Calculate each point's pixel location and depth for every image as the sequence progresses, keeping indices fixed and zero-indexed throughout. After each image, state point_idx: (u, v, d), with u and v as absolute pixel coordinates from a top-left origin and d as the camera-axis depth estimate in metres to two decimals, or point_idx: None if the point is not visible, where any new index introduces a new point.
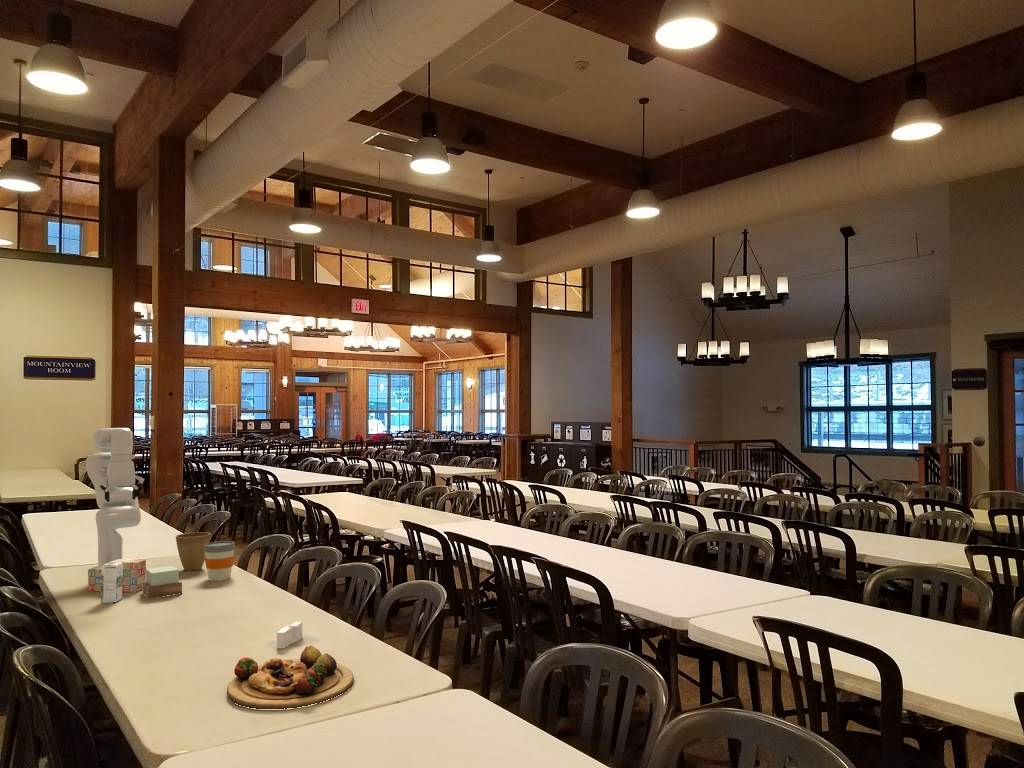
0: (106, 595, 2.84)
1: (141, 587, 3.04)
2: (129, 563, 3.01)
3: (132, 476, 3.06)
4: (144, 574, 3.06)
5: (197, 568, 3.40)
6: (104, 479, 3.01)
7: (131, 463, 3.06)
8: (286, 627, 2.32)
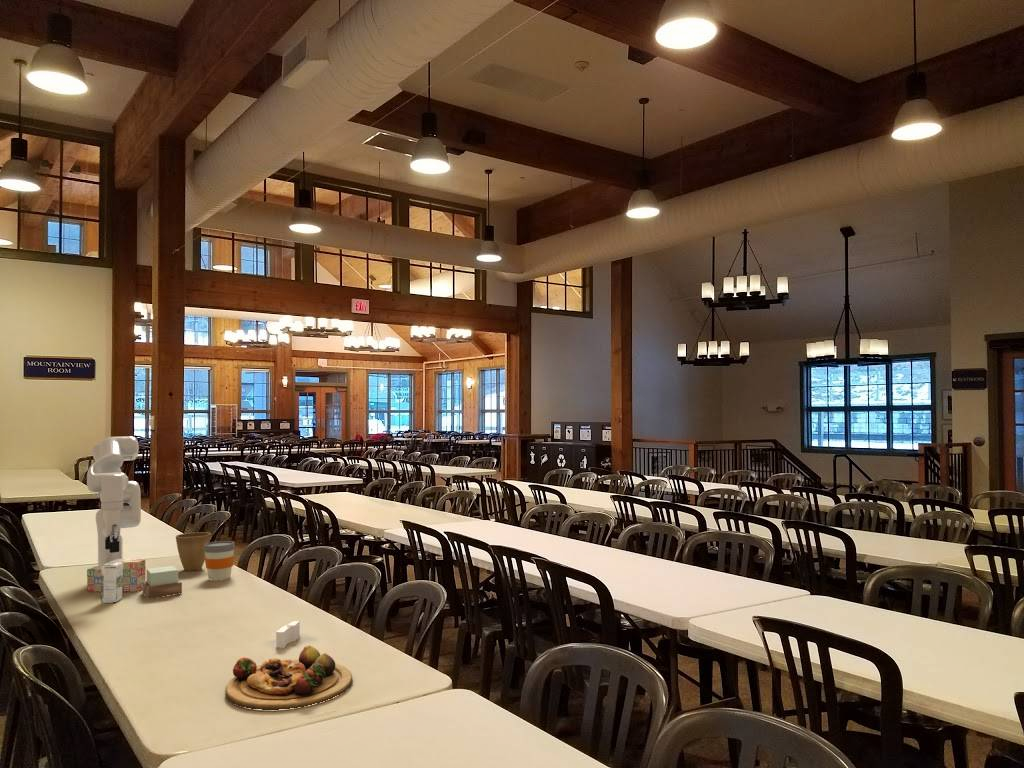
0: (106, 595, 2.84)
1: (141, 587, 3.04)
2: (129, 563, 3.02)
3: None
4: (144, 574, 3.06)
5: (197, 568, 3.40)
6: (116, 528, 2.83)
7: None
8: (284, 627, 2.33)
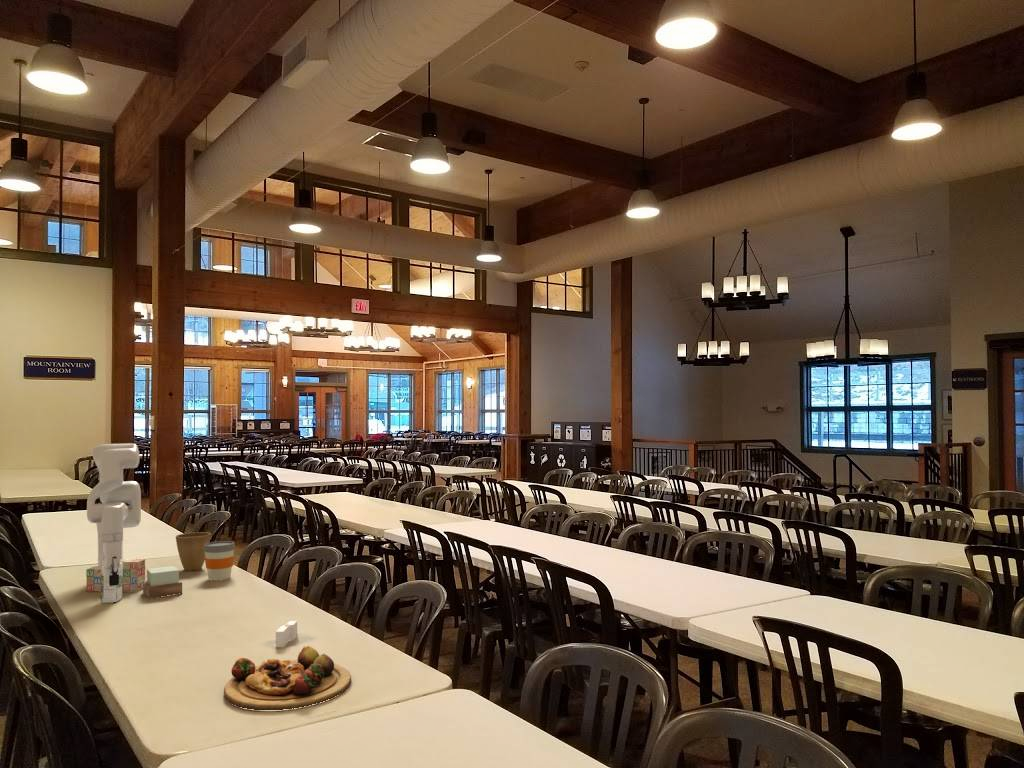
0: (106, 595, 2.84)
1: (141, 586, 3.05)
2: (129, 563, 3.02)
3: None
4: (143, 573, 3.07)
5: (197, 568, 3.40)
6: (116, 561, 2.83)
7: None
8: (283, 626, 2.33)
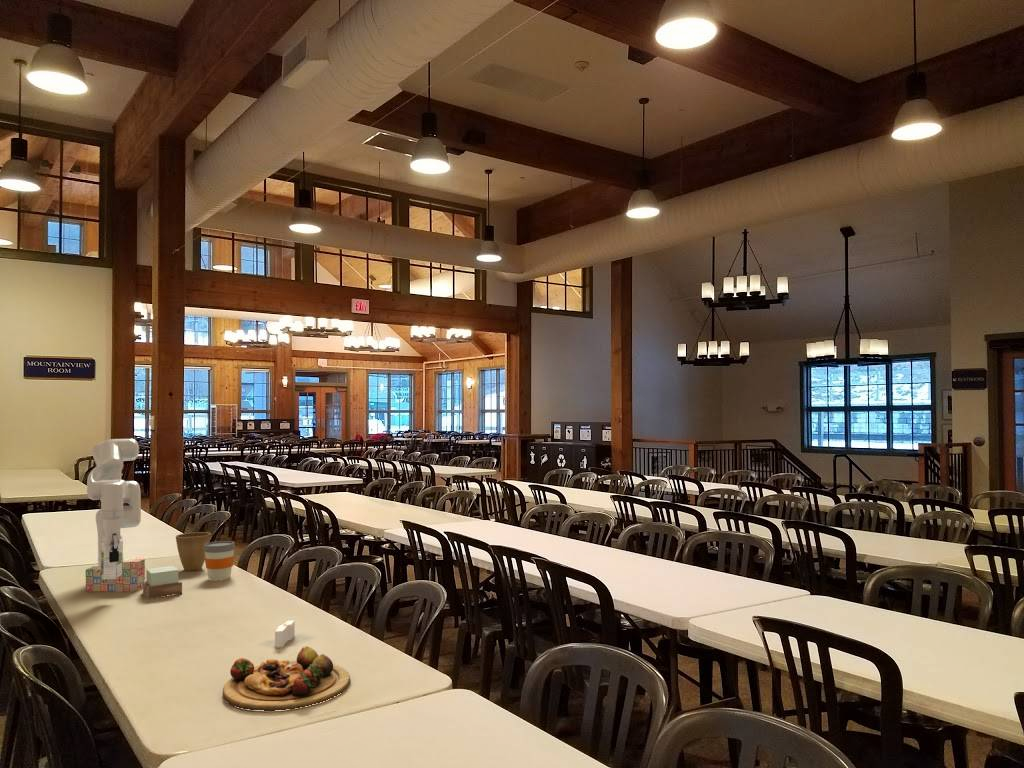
0: (106, 571, 2.85)
1: (141, 586, 3.05)
2: (129, 562, 3.03)
3: None
4: (143, 573, 3.08)
5: (197, 568, 3.40)
6: (116, 538, 2.83)
7: None
8: (281, 626, 2.33)
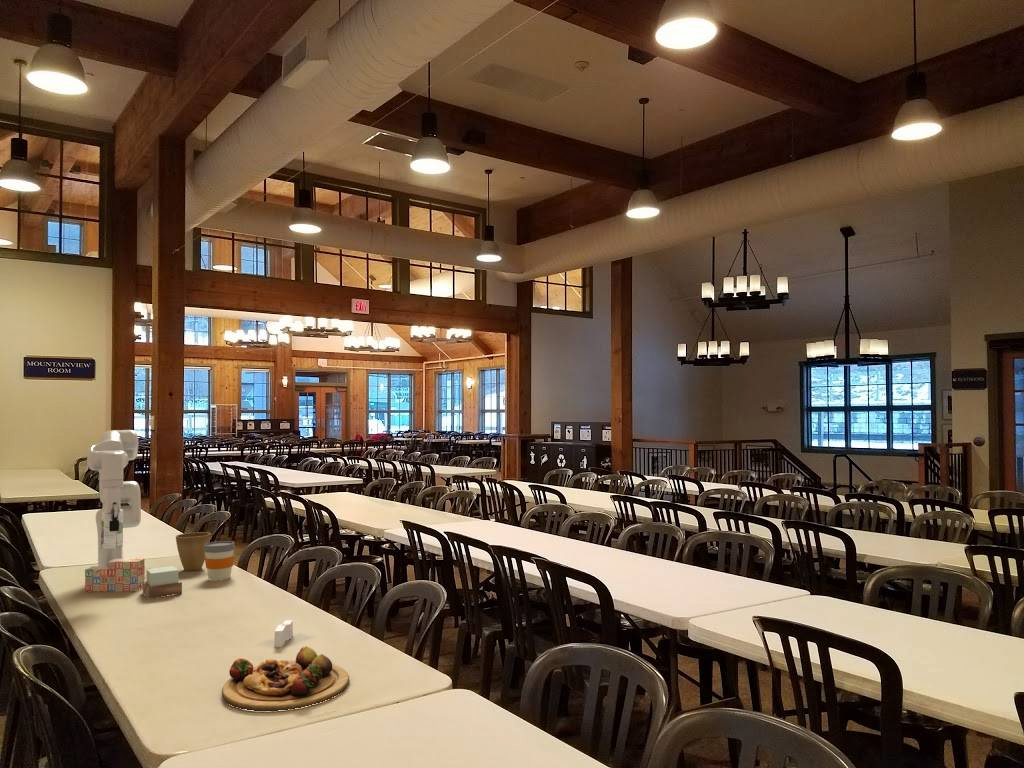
0: (106, 541, 2.85)
1: (141, 586, 3.06)
2: (129, 562, 3.03)
3: None
4: (143, 573, 3.08)
5: (197, 568, 3.40)
6: (116, 507, 2.83)
7: None
8: (280, 626, 2.34)
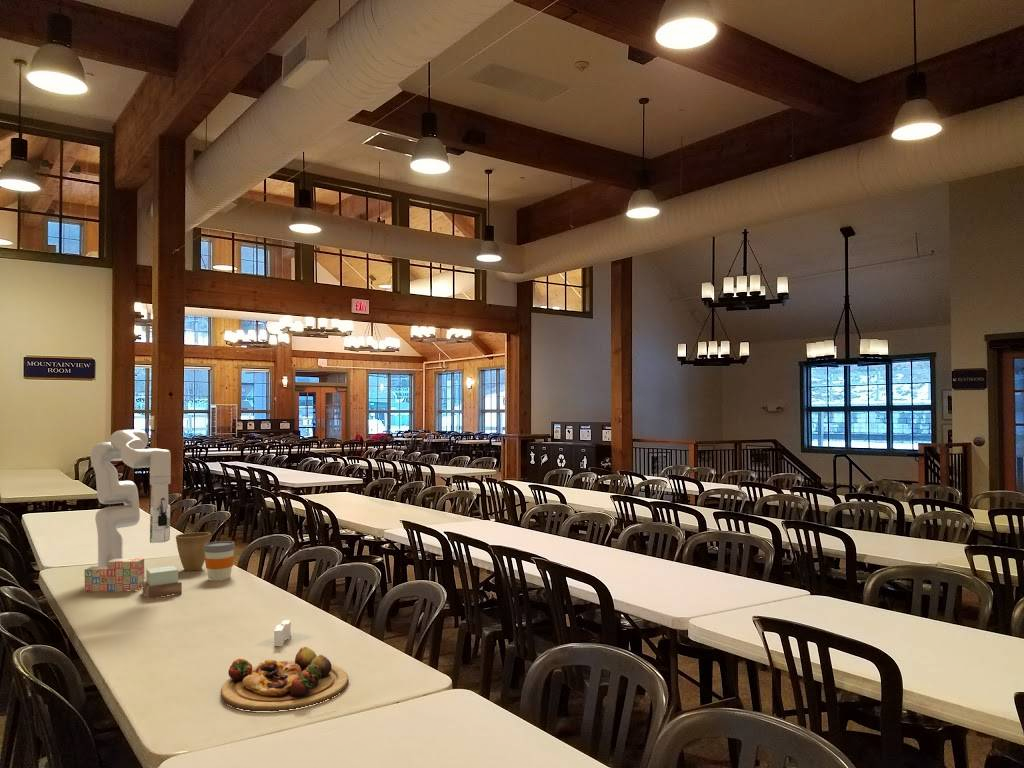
0: (155, 535, 2.95)
1: (140, 586, 3.06)
2: (129, 562, 3.03)
3: None
4: (143, 573, 3.08)
5: (197, 568, 3.40)
6: (165, 502, 2.94)
7: None
8: (279, 626, 2.34)
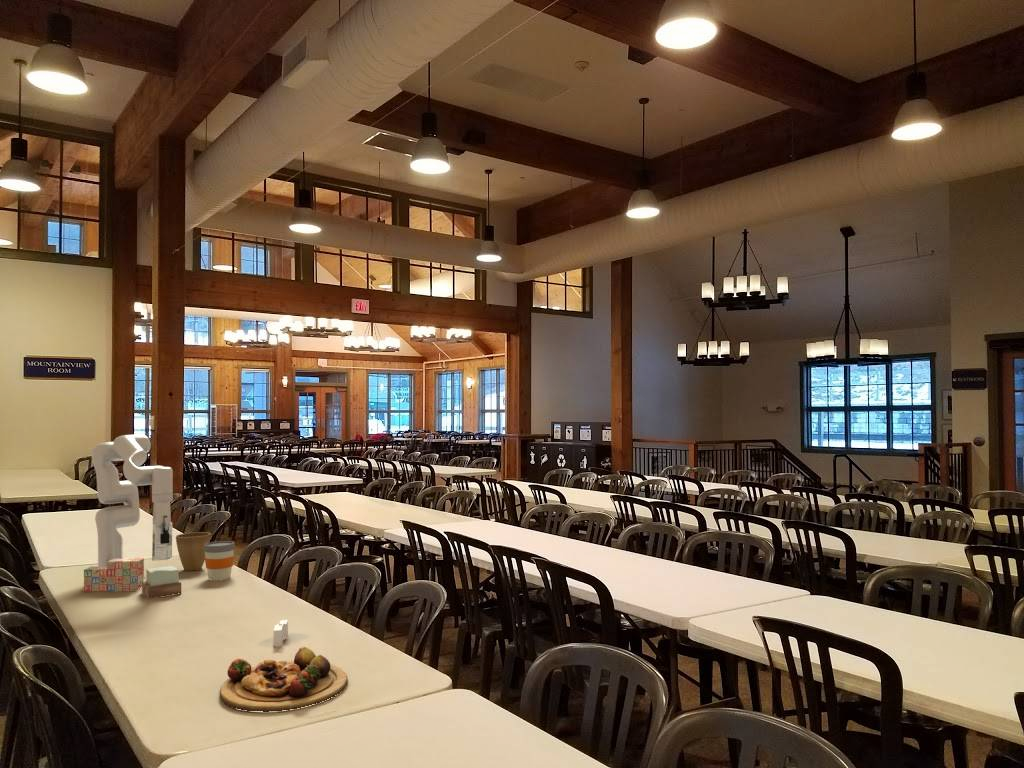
0: (157, 553, 2.95)
1: (140, 585, 3.07)
2: (129, 562, 3.04)
3: None
4: (142, 573, 3.09)
5: (197, 568, 3.40)
6: None
7: None
8: (277, 625, 2.34)
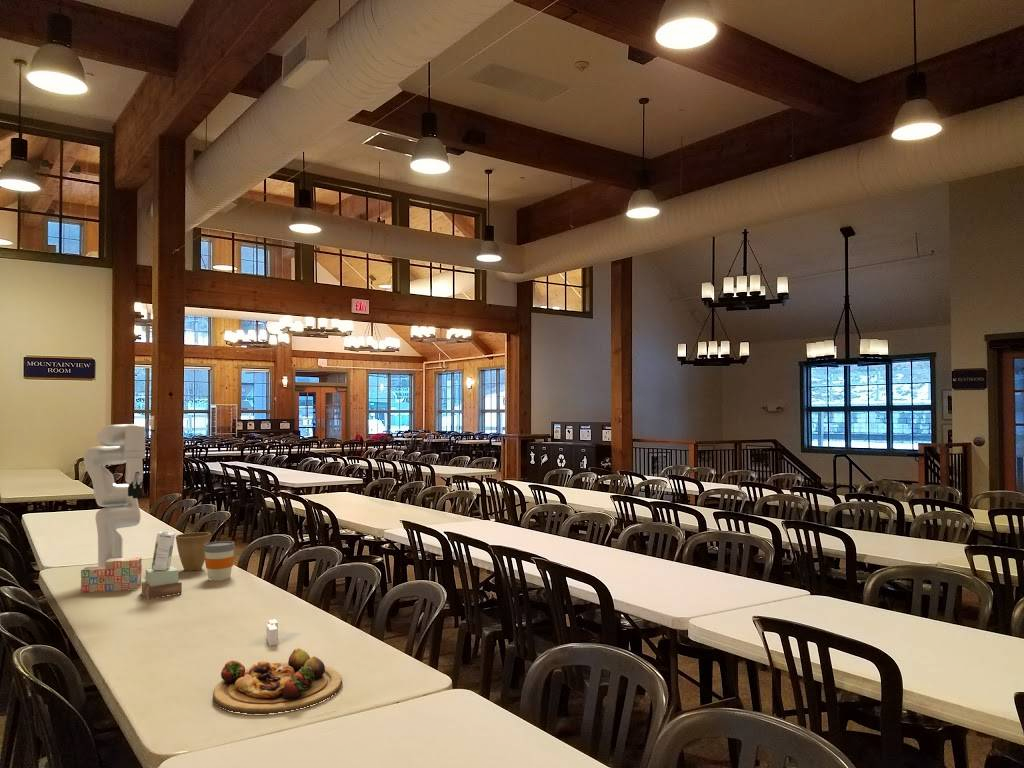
0: (158, 562, 2.95)
1: (139, 584, 3.08)
2: (128, 561, 3.05)
3: None
4: (140, 572, 3.10)
5: (197, 568, 3.40)
6: (139, 475, 2.98)
7: None
8: (270, 625, 2.35)
